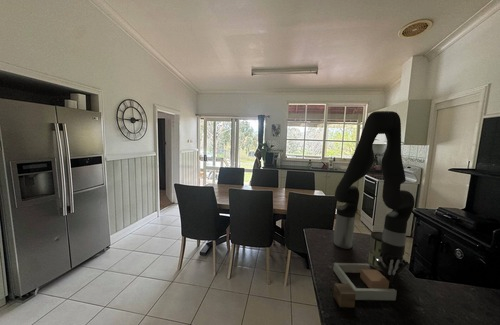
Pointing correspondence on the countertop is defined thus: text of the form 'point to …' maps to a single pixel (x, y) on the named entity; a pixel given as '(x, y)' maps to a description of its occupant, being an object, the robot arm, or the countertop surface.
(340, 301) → the walnut block
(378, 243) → the coffee can
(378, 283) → the brown rectangular block
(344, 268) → the tray
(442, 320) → the countertop surface
